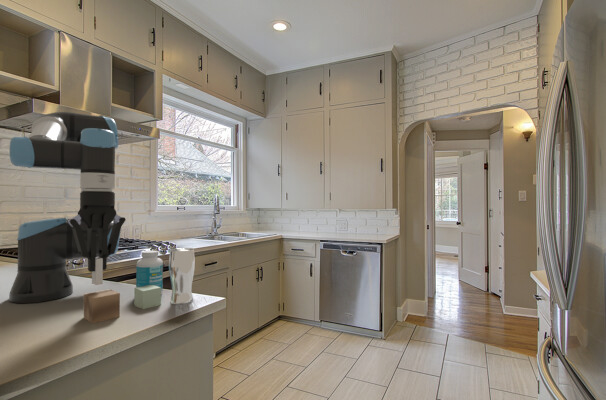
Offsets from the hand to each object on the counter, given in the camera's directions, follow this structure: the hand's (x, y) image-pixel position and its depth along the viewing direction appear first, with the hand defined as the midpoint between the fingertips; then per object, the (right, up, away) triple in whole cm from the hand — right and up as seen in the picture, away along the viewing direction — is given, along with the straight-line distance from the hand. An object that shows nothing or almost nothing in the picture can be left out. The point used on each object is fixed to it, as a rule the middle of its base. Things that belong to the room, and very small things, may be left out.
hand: (97, 283), depth 86 cm
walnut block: (0, -5, 0) cm, 5 cm away
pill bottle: (+5, -8, +18) cm, 20 cm away
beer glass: (+17, -8, +12) cm, 22 cm away
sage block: (+9, -8, +8) cm, 15 cm away
